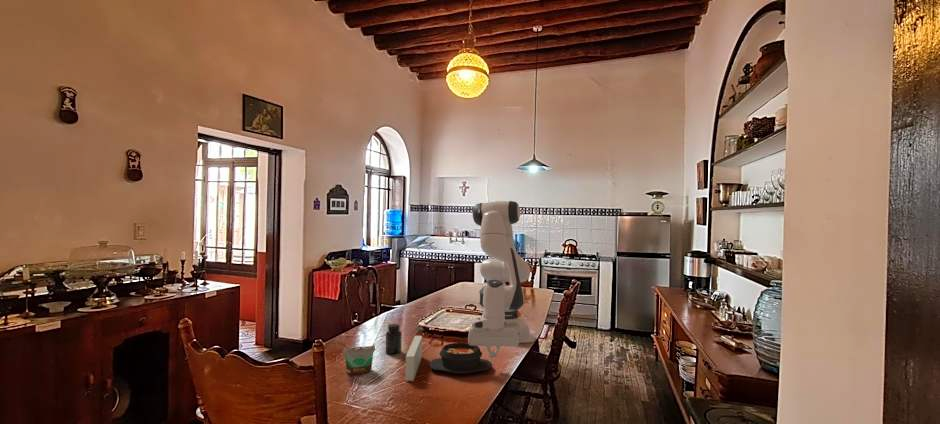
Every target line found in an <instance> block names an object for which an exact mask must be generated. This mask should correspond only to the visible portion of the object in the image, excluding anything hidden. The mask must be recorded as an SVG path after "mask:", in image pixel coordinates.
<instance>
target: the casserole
mask: <svg viewBox="0 0 940 424" xmlns="http://www.w3.org/2000/svg"><path fill="white" fill-rule="evenodd" d="M482 355H483V352H482V351H481V348H480V346H470V345H469V344H468V342H452V343H448V344H445V345H443V346H442V348H441V350H440V352H439V356H440V357H438V358H437V357H436V358H433V359H432V360H431V361H430V362H429V364H428V365H429V367H430V369H432V370H435V371H440V372H441V371H442V372H447V373H451V374H454V375H455V374H456V375H465V374H466V375H467V374H471V373H476V372H483V371H489V370H490V369H492V367H493V364H492V361H490V360H489V359H484V358H481V357H482Z"/></svg>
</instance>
